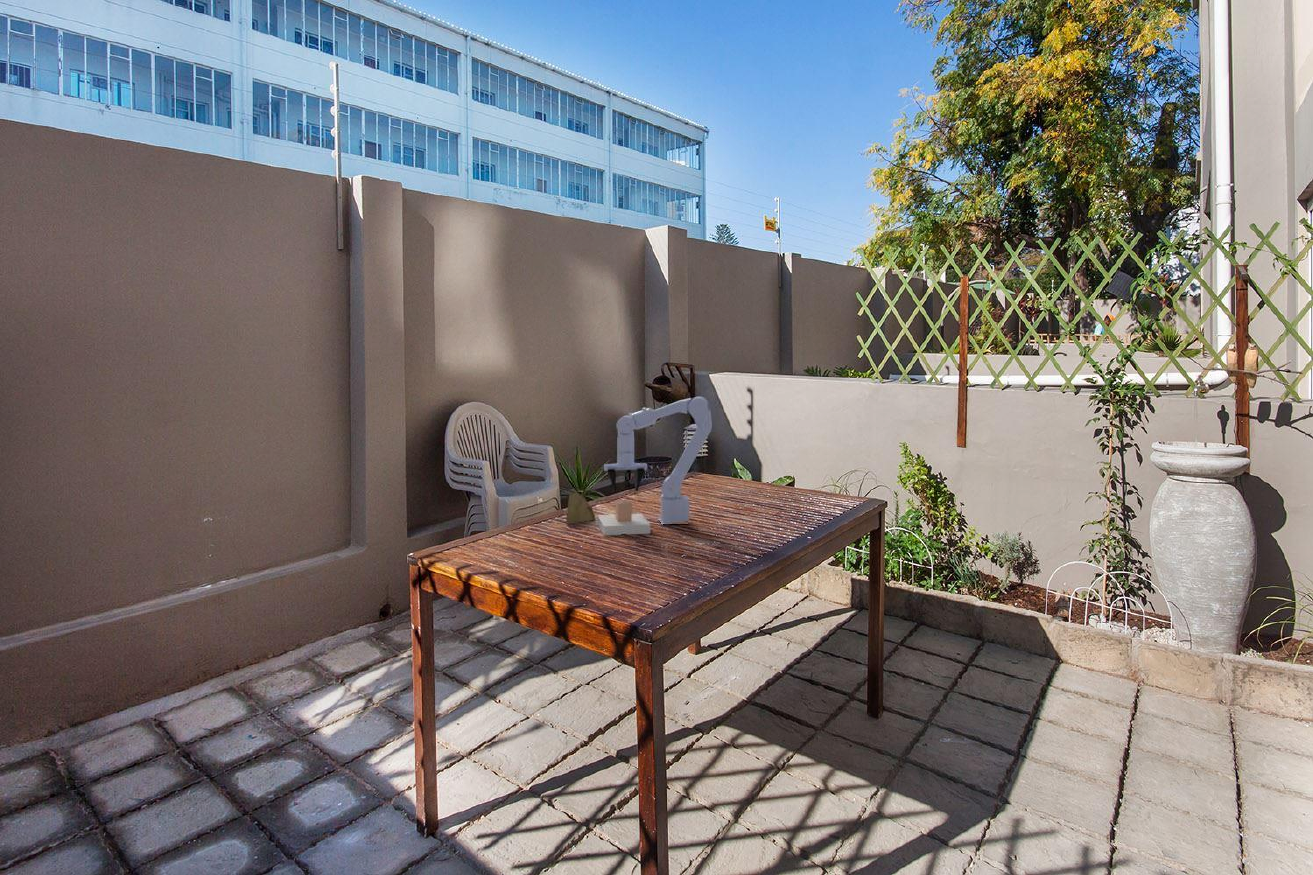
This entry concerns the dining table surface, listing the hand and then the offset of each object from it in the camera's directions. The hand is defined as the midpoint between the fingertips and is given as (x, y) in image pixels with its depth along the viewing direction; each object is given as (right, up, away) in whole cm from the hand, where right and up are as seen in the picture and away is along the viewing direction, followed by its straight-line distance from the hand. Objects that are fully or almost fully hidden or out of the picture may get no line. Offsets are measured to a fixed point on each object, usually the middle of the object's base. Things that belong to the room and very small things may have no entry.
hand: (625, 490), depth 249 cm
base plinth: (0, -12, -9) cm, 15 cm away
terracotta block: (0, -9, -10) cm, 13 cm away
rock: (-15, -11, 0) cm, 19 cm away
